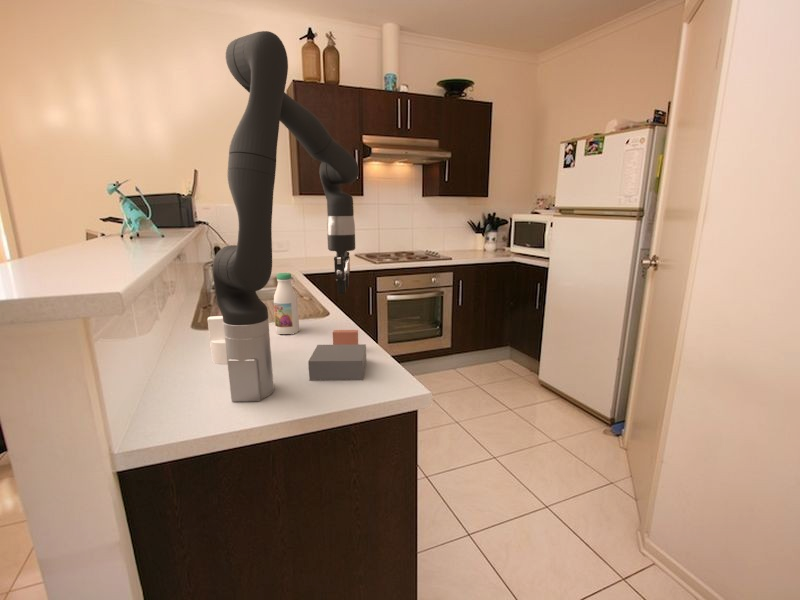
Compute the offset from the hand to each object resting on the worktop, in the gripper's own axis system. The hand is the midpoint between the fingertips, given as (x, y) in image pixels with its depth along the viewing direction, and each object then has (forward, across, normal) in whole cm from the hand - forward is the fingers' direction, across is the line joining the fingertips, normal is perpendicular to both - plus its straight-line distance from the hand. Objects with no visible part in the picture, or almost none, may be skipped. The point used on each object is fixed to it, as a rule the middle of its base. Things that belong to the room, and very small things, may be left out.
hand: (343, 290), depth 115 cm
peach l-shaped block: (+18, -9, 0) cm, 20 cm away
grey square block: (+18, -14, 0) cm, 23 cm away
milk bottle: (+18, +19, +22) cm, 34 cm away
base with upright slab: (+18, -5, +32) cm, 37 cm away
